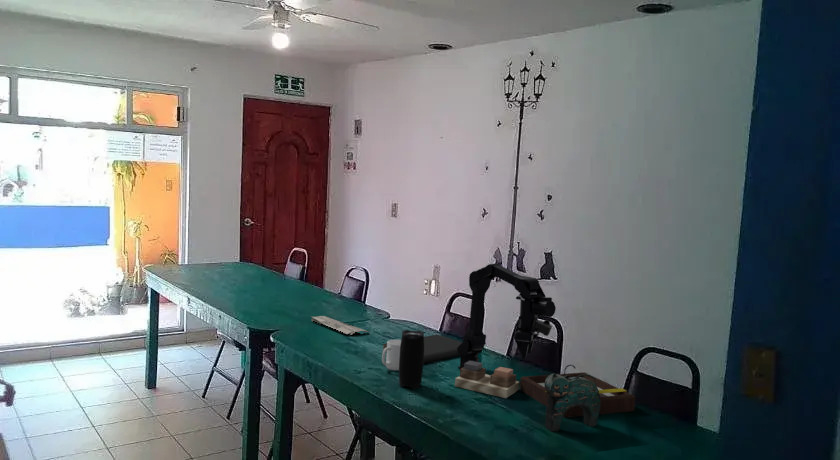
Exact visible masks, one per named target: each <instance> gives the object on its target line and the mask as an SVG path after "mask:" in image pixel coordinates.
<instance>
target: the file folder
mask: <svg viewBox="0 0 840 460" xmlns="http://www.w3.org/2000/svg"><path fill="white" fill-rule="evenodd" d="M462 342H463V341H460V340H457V339H453V338H450V337H447V336H443V335H440V334H432V335H427V336H425V335H424V361H423V365H424V364H431V363H434V362H437V361H439V362H440V361H442V360H443V359H444V360H447V359H452V357H453V358H457V357H461V354H459V353H458V350H457V347H458V346H459V345H460V344H461V343H462ZM382 344H383V345H382V352H383V351H384V349H385V348H387V342H386V343H382ZM386 352H387V351H386ZM456 356H457V357H456Z"/></svg>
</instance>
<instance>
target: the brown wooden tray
mask: <svg viewBox="0 0 840 460" xmlns="http://www.w3.org/2000/svg"><path fill="white" fill-rule="evenodd" d="M557 374H558V375H561V376H570V377H568V378H571V377H577V376H579V375H582V374H588V375H590V374H589V373H587V372H573V373H569V372H568V373H565V375H564V373H557ZM549 375H550V374H542V375H541V374H540V375H528V376H525V375H524V376H521V377H520V381H519V390H520V392H522V393H524V394H526V395H528V396H529V397H530V398H532V399H534V400H536V402H539V403H540V404H541V405H543V406H545V407H546V406H547V401H548V396H549V394H548V393H547V391H546V390H545V380H546V378H547V377H548V376H549ZM580 377H583V378H586V379H588V380H590V381H592V382H593V383H594V384H595V381H594V379H593V378H592V377H590V376H580ZM593 377H594V378H595V380H596V385H597V388H598V390H599V394H600V399H601V406H600V411H599V415H605V414H607V415H608V414H617V413H618V414H619V413H626V412H627V413H628V412H635V408H636V407H635V406H636V396H635V395H633V394H631V393H629V391H628V390H626V389H624V388H618V387H617V386H615V385H612V384H610V383H608V382H606V381H603V380H601V379H600V378H598V377H595V376H593ZM576 417H584V414H583V409H582V408H581V407H580V406H575V407H572V408H569V409H568V410H567V411H566V413H565V415H564V416H563V419H566V418H576Z"/></svg>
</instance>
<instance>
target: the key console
mask: <svg viewBox="0 0 840 460" xmlns="http://www.w3.org/2000/svg"><path fill="white" fill-rule="evenodd" d="M454 380H455V382H454V387H456V388H461V389H465V390H469V391H473V392H478V393H481V394H482V393H483V394H487V395H490V396H494V397H500V398H503V399H508V398H509V397H510V396H512V395H513V394H515V393H516V392H518V391H519V390H520V381H518V380H517V374H514V373H513V376H511V377H510V378H508V379H507V378H503V377H498V376H494V373H492V374H490V375H489V374H487V373H486V368H485V367H482V369H481V370H480V371H478V372H475V371H470V370H466V369H464V367H463V368H461V369H459V375H458V376H457V377H455V378H454Z"/></svg>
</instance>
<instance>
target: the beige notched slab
mask: <svg viewBox="0 0 840 460" xmlns="http://www.w3.org/2000/svg"><path fill="white" fill-rule="evenodd" d="M313 321H315V322H317V323H316V324H318V323H320V324H319V325H321V324H323V325H326V326H328V327H327V328H329V327H331V328H333V329H332V330H334V329H336V330H335V331H337V330H338V331H337V332H340V331H341V332H340V333H342V332H343V334H346V335H348V334H350V335H353V334H356V333H355V332H360V331H364V332H369V333H370V331H368V330H365V329H363V328H360V327H358V326H354V325H351V324H348V323H345V322H342V321H339V320H336V319H333V318H331V317H328V316H326V315H319V316H311V322H313ZM315 322H314V323H315ZM323 325H322V326H323ZM326 326H325V327H326ZM331 328H330V329H331ZM350 335H349V336H350Z"/></svg>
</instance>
